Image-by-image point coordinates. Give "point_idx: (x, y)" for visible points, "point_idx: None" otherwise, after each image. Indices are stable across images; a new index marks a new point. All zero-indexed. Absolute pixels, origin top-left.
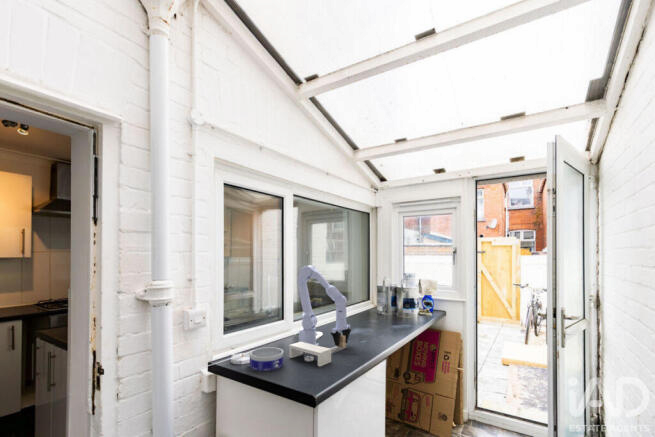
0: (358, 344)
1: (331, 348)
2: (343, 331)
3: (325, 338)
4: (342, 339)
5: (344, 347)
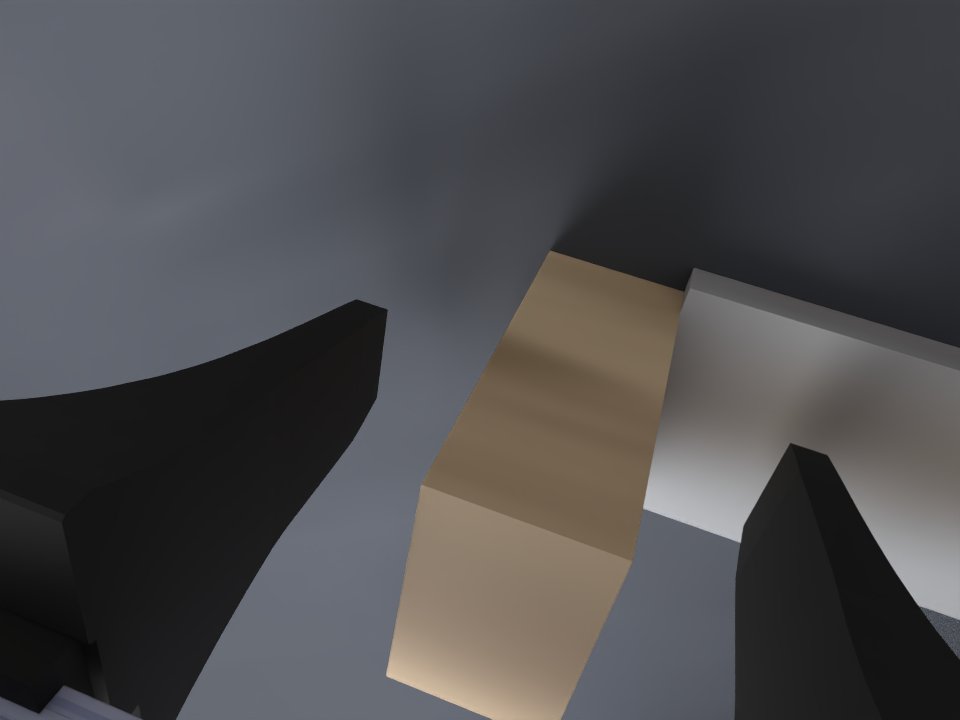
0: (57, 19)
1: None
2: (176, 656)
3: (196, 694)
4: (643, 484)
5: (599, 280)
